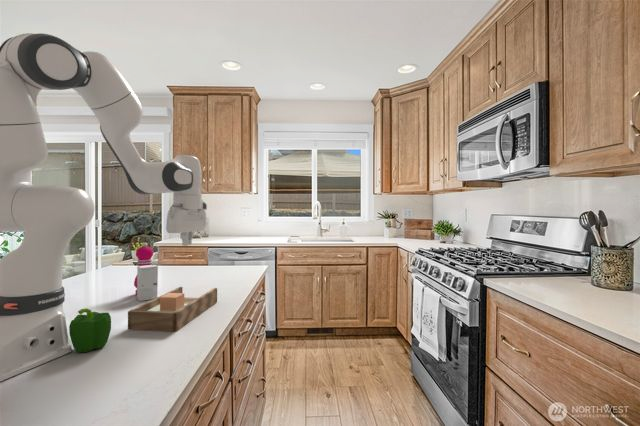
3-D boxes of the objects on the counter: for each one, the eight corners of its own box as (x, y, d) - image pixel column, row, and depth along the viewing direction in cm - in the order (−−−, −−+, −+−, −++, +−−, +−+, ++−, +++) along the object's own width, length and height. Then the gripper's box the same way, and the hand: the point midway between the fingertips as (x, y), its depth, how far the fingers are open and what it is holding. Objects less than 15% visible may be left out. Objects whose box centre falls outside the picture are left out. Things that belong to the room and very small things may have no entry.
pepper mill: (159, 291, 130) (159, 241, 129) (147, 296, 123) (147, 243, 122) (141, 291, 131) (141, 241, 130) (129, 296, 123) (129, 243, 123)
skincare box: (140, 301, 116) (139, 267, 116) (136, 299, 120) (136, 266, 119) (158, 298, 121) (158, 265, 120) (154, 295, 124) (154, 264, 124)
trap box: (176, 331, 89) (176, 313, 89) (127, 329, 90) (127, 311, 90) (217, 301, 117) (217, 288, 117) (179, 300, 118) (179, 286, 118)
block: (176, 311, 97) (176, 297, 97) (159, 310, 97) (159, 297, 97) (184, 305, 102) (184, 293, 102) (169, 305, 102) (169, 292, 102)
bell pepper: (104, 338, 84) (104, 299, 84) (116, 347, 79) (116, 306, 79) (64, 348, 78) (63, 307, 77) (74, 359, 72) (73, 314, 72)
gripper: (180, 203, 98) (180, 248, 98) (209, 205, 119) (208, 242, 119) (160, 203, 99) (160, 248, 99) (192, 205, 119) (192, 242, 119)
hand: (187, 245), depth 109 cm, fingers closed
